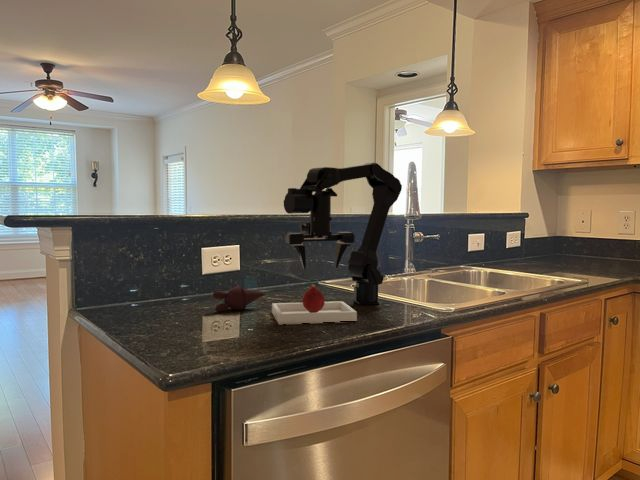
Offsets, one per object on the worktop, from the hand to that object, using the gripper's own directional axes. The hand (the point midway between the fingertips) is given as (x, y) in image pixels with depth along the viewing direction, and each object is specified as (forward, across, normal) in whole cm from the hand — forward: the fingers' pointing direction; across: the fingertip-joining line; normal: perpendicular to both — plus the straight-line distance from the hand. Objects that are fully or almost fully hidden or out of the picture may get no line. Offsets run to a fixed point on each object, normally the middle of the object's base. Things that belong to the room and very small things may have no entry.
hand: (320, 268), depth 133 cm
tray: (+12, +4, +9) cm, 15 cm away
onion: (+11, +4, +8) cm, 15 cm away
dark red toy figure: (+11, +22, -4) cm, 25 cm away
